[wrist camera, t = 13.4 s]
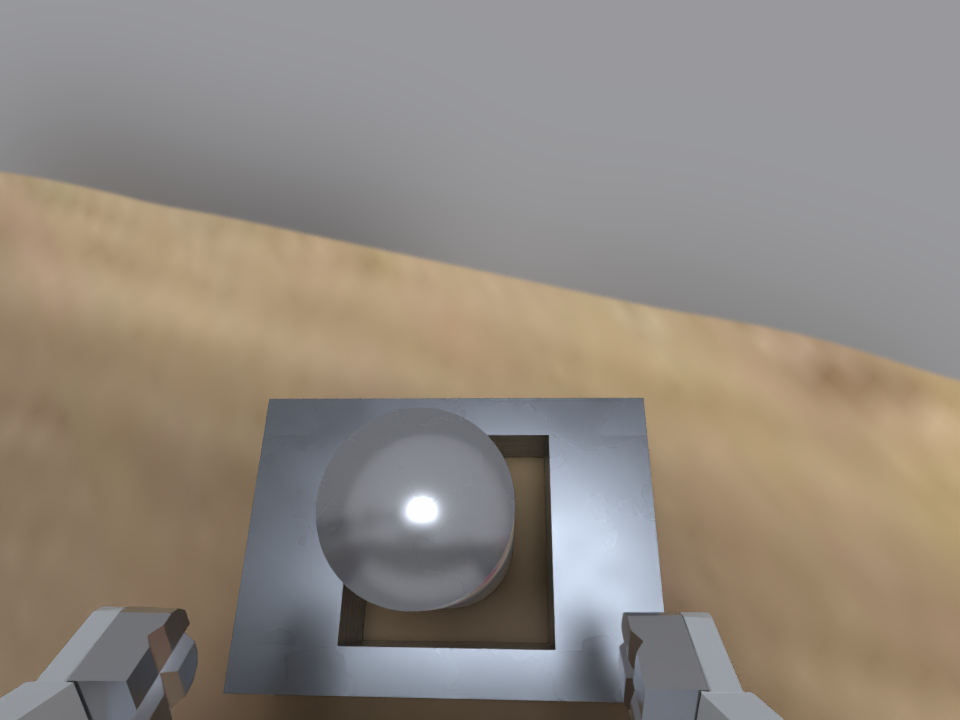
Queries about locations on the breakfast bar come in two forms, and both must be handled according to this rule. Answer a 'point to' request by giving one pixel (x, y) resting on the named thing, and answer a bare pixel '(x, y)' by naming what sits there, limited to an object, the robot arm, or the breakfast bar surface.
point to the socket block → (451, 665)
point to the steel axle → (417, 511)
